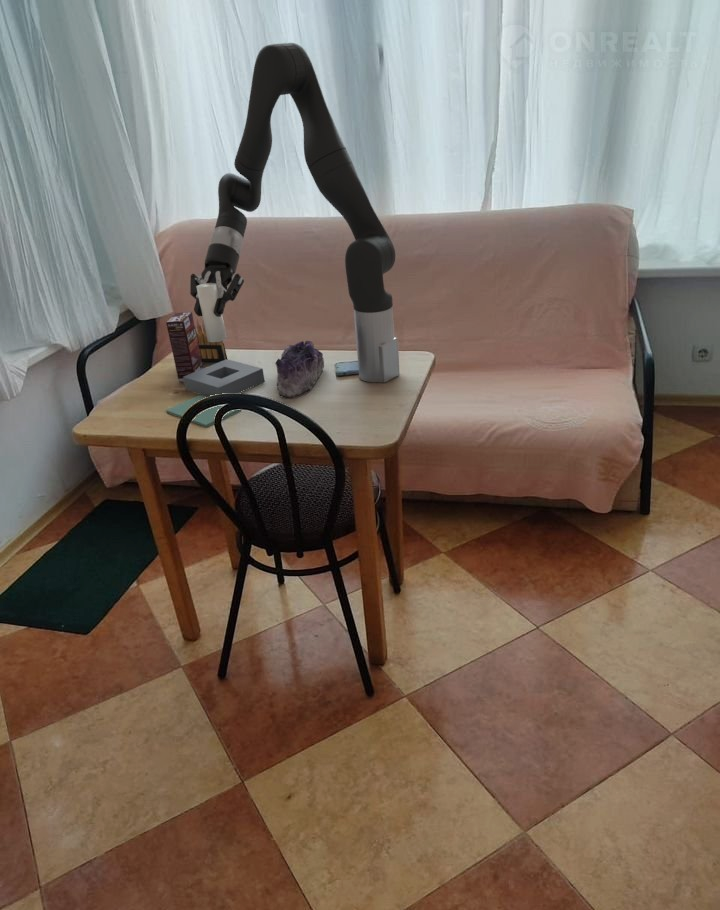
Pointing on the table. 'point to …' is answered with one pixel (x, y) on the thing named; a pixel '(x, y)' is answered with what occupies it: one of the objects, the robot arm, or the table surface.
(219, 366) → the grey square socket block
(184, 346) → the supplement box
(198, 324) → the ammunition clip
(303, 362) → the geode
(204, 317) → the plug
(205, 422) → the mat
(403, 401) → the table surface
